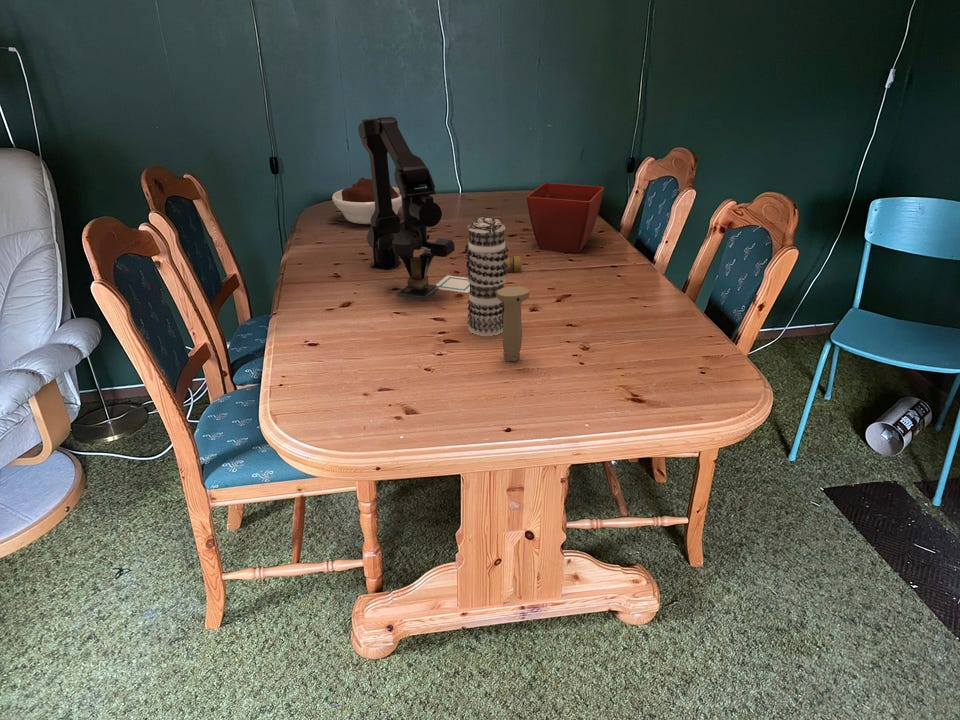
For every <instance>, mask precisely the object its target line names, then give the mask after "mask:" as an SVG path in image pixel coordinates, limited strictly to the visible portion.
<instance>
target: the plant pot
mask: <svg viewBox="0 0 960 720" xmlns="http://www.w3.org/2000/svg"><path fill="white" fill-rule="evenodd" d="M604 191H605V189H604V186H597V185H581V184H569V183H556V182H543V183H542V184H541V185H539V186H538V187H537V188H535V189H534V190H532V191H531V192H530V193H529V194H527V195H526V201H527V208H528V215H529V219H530V224H531V227H532V231H533V234H534V238H535V241H536V242H535V243H536V244H537V247H538V249H540V250H545V251H546V250H547V251H553V252H564V253H565V252H566V253H572V254H573V253H575V254H578V253H580V252H581V251H582V250H583V248H584V247H585V246H586V245H587V244H588V242H589V241H590V238H591V236H592V233H593V231H594V227H595V224H596V222H597V219H598V216H599V211H600V208H601V205H602V204H601V202H602V198H603V195H604Z"/></svg>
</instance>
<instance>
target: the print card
mask: <svg viewBox="0 0 960 720" xmlns="http://www.w3.org/2000/svg"><path fill="white" fill-rule="evenodd" d="M435 285H436V286H439V290H441V291H446V292H454V293H460V294H468V295H469V291H470V283H469V282H468V277H462V276H455V275H447V274H446V276H445V277H443V278H442V279H441V280H440V281H439V282H437V283H436V284H435ZM439 290H438V291H439Z"/></svg>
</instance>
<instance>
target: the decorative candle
mask: <svg viewBox="0 0 960 720" xmlns="http://www.w3.org/2000/svg"><path fill="white" fill-rule="evenodd" d="M506 228H507V227H506V225H504V224H503V223H502V221H500V219H498V218H495V217H487V216H485V217H479V218H478V217H477V218H475V219H474V220H472V222H471V224H469V225H467V230H468V238H469V239H468V243H467V244H466V245H465V247H464V251H465V252H466V255H465V260H466V265H465V266H466V268H467V270H466V276H467V278H468V282H469V283H470V291H469V293H468V299H467V304H468V307H467V310H468V314H467V319H468V320H467V324H468V331H469V332H470V333H471V334H472V333H474V334H473V335H475V334H477V335H476V336H478V335H482V336H481V337H494V336H493V335H495V336H498V334H499V335H501V334H503V333H502V332H503V320H504V302H501V301H500V300H499V299H498V298H497V290H499V289H502V288H505V287H504V286H505V283H506V282H507V281H506V280H507V279H506V275H507V273H508V272H507V271H506V270H504V269H505V268H506V267H507V264H506V263H505V262H503V260H505V259H507V258H508V257H509V256H508V254H506V253H508V252H509V248H508V247H507V246H506V241H505V230H506ZM500 333H501V334H500Z"/></svg>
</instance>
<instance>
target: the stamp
mask: <svg viewBox="0 0 960 720" xmlns="http://www.w3.org/2000/svg"><path fill="white" fill-rule="evenodd" d="M410 263H411V277H410V276H409V277H408V278H407V279H406V282H407V283H406V284H407V285H406V286H408V288H411V289H418V290H423V289H424V288H425V287H426V286H427V285H429V275H426V277H425V278H422V260H421V258H420V256H413V257H412V258H410Z"/></svg>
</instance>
